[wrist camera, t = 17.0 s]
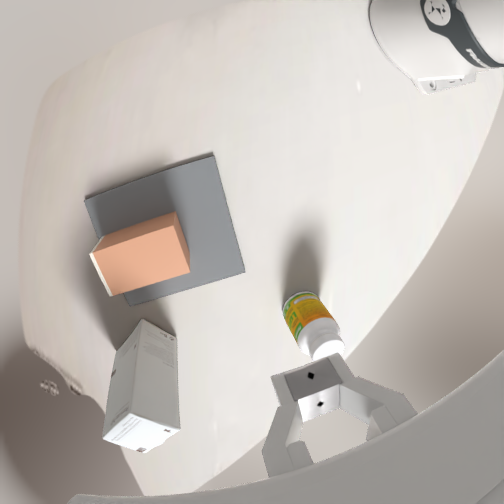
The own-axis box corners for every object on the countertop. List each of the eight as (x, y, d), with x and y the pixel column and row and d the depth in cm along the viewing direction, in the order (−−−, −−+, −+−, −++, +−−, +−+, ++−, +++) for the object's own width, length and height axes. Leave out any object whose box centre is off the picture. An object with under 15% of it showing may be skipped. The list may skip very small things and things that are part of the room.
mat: (213, 155, 29) (213, 156, 29) (244, 270, 35) (245, 272, 35) (85, 199, 28) (84, 200, 27) (130, 304, 34) (129, 306, 33)
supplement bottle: (279, 295, 38) (306, 343, 29) (318, 285, 38) (351, 328, 30) (283, 327, 40) (307, 375, 31) (319, 317, 41) (348, 361, 32)
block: (173, 225, 26) (89, 254, 25) (190, 272, 28) (109, 296, 27) (175, 211, 30) (102, 236, 29) (189, 252, 32) (118, 274, 31)
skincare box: (142, 316, 35) (128, 408, 21) (180, 338, 37) (183, 430, 24) (114, 353, 36) (98, 439, 23) (149, 371, 39) (146, 457, 25)
